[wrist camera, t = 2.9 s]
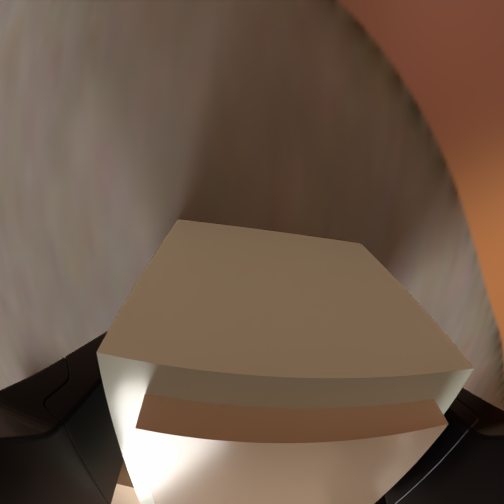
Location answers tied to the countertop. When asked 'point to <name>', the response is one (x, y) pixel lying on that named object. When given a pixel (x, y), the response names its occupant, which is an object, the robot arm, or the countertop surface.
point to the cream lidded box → (273, 371)
